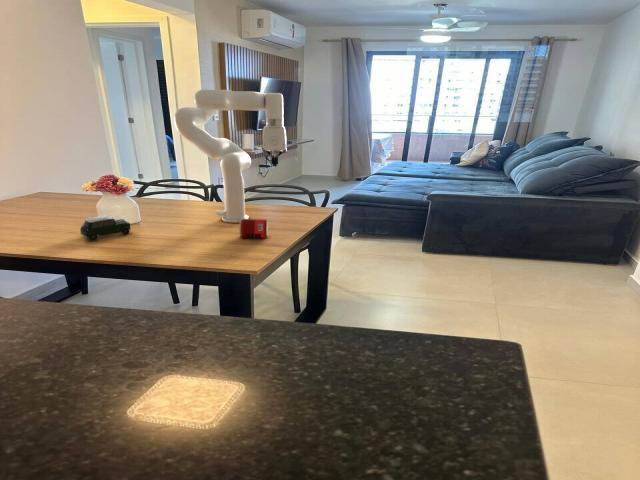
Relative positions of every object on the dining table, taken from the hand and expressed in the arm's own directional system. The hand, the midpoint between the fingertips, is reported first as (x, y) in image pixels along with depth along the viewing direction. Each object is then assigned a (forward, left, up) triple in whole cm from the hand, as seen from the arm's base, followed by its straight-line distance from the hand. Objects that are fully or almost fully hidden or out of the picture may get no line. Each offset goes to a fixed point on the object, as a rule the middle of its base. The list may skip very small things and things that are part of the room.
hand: (274, 165), depth 171 cm
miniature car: (-68, -21, -27) cm, 76 cm away
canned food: (-2, -20, -23) cm, 31 cm away
